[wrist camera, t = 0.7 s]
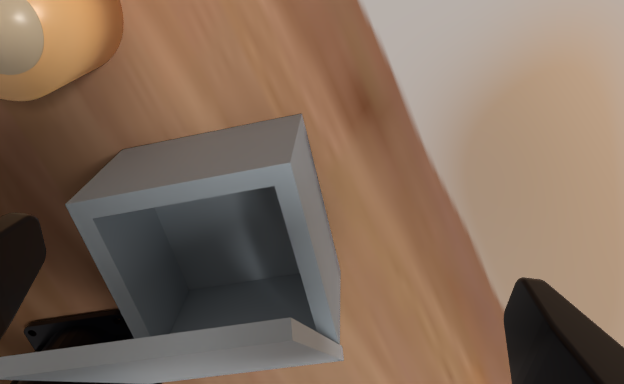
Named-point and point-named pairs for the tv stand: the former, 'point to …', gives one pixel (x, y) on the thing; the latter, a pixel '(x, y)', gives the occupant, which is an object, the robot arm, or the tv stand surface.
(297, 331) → the box lid
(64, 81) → the tan cylinder grey end
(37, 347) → the robot arm
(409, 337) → the tv stand surface
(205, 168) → the box
